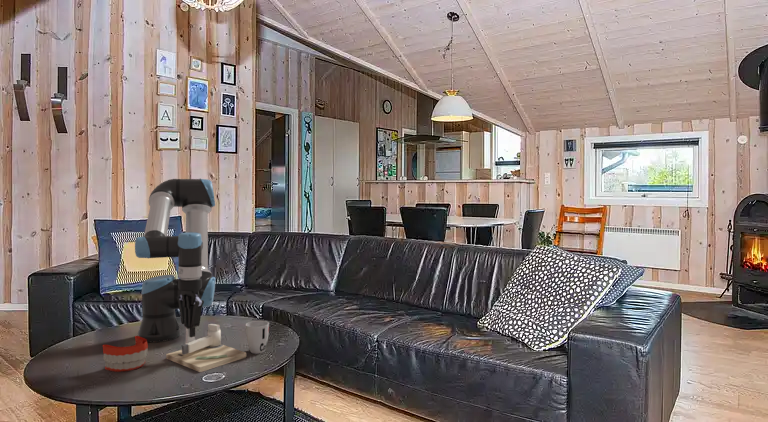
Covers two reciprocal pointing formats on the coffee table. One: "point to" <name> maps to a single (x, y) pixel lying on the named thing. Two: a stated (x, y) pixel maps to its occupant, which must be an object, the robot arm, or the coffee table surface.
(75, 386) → the coffee table surface
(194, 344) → the lever
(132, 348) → the toy
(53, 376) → the coffee table surface
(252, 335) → the cup
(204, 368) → the board
